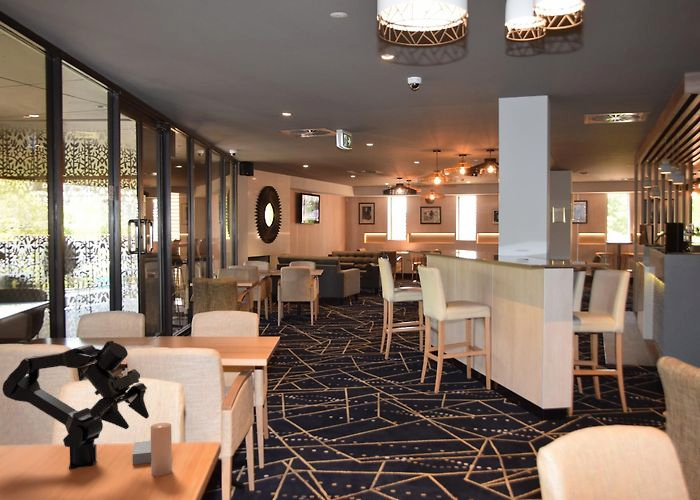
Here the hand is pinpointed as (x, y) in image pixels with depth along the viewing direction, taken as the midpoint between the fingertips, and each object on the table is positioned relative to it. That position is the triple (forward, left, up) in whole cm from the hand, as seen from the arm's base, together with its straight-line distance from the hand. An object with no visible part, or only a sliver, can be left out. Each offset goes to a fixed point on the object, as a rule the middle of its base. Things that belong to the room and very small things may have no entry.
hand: (138, 422), depth 165 cm
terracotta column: (+6, -4, -13) cm, 15 cm away
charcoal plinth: (+3, +9, -13) cm, 16 cm away
